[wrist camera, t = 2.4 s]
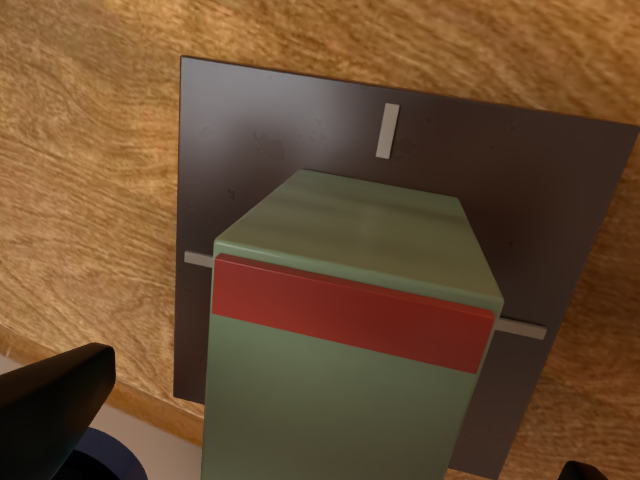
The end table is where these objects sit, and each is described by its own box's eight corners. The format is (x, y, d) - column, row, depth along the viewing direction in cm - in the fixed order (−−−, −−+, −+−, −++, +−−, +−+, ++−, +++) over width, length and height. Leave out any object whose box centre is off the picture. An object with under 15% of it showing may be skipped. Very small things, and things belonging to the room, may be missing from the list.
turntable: (487, 437, 17) (498, 486, 15) (196, 365, 18) (170, 400, 16) (607, 119, 12) (646, 127, 10) (209, 58, 14) (176, 54, 12)
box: (404, 399, 14) (403, 614, 8) (274, 367, 15) (190, 549, 9) (459, 197, 12) (511, 307, 6) (299, 167, 12) (205, 243, 6)
